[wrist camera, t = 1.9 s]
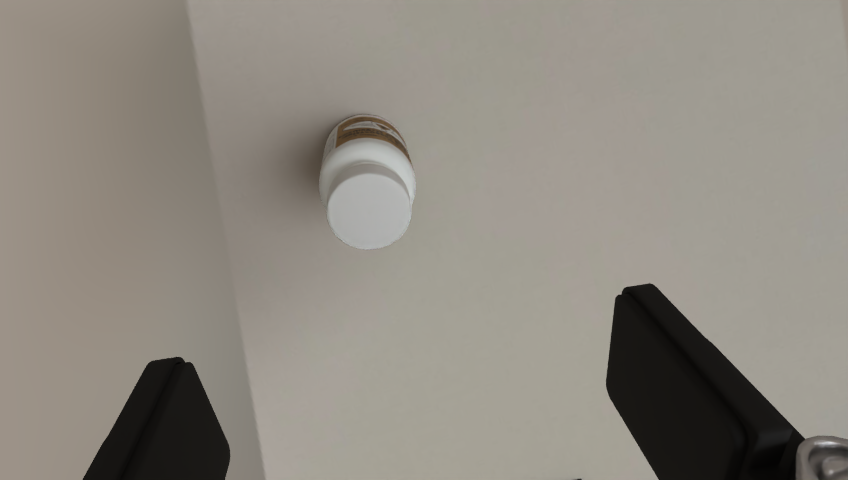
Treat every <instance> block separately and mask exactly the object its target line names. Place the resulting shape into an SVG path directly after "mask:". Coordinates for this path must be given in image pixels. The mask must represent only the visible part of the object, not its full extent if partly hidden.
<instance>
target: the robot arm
mask: <svg viewBox="0 0 848 480" xmlns="http://www.w3.org/2000/svg"><path fill="white" fill-rule="evenodd" d="M606 387H607V391H608V394H609V397H610V399H611V401H612V402H613V404H614V406H615V407H616V409H617V411H618V412H619V414H620V416H621V417H622V419H623V421H624V422H625V424H626V426H627V427H628V429H629V431H630V432H631V434H632V436H633V437H634V439H635V441H636V442H637V444H638V446H639V447H640V449H641V451H642V452H643V454H644V456H645V457H646V459H647V461H648V462H649V464H650V466H651V467H652V469H653V471H654V472H655V474H656V476H657V477H658V479H659V480H848V440H847V439H843V438H839V437H834V436H815V437H811V438H807V439H805V438H804V437H803V436H802V435H801V434H800V433H799V432H798V431H797V430H796V429H795V428H794V427H793V426H792V425H791V424H790V423H789V422H788V421H787V420H786V419H785V418H784V417H783V416H782V415H781V414H780V413H779V412H778V411H777V410H776V409H775V407H774V406H773V405H772V404H771V403H770V402H769V401H768V400H767V399H766V398H765V397H764V396H763V395H762V394H761V393H760V392H759V391H758V390H757V389H756V388H755V387H754V386H753V385H752V384H751V383H750V382H749V381H748V380H747V379H746V378H745V377H744V376H743V374H742V373H741V372H740V371H739V370H738V369H737V368H736V367H735V366H734V365H733V364H732V363H731V362H730V361H729V360H728V359H727V358H726V357H725V356H724V355H723V354H722V353H721V352H720V351H719V350H718V349H717V348H716V347H715V346H714V345H713V344H712V343H711V342H710V341H709V340H708V339H706V338H705V337H704V336H703V335H702V334H701V333H700V332H699V331H698V330H697V329H696V328H695V327H694V326H693V325H692V324H691V323H690V322H689V320H688V319H687V318H686V317H685V316H684V315H683V314H682V313H681V312H680V311H679V310H678V309H677V308H676V307H675V306H674V305H673V304H672V303H671V302H670V301H669V300H668V299H667V298H666V297H665V296H664V295H663V294H662V292H661V291H660V290H659V289H658V288H657V287H656V286H654V285H653V284H643V285H637V286H631V287H626V288H624V289H623V291H622V295H618V296H617V297H616V299H615V306H614V315H613V324H612V333H611V342H610V351H609V360H608V369H607V378H606ZM229 461H230V449H229V444H228V442H227V440H226V438H225V435H224V433H223V431H222V429H221V426H220V424H219V422H218V420H217V417H216V415H215V413H214V411H213V408H212V406H211V404H210V401H209V399H208V397H207V395H206V392H205V390H204V388H203V386H202V383H201V381H200V379H199V377H198V374H197V372H196V370H195V368H194V366H193V364H192V363H191V362H186V363H185V361H184V360H183V359H182V358H181V357H174V358H167V359H161V360H155V361H151V362H150V363H148V365H147V366H146V368H145V370H144V371H143V373H142V375H141V377H140V379H139V380H138V382H137V384H136V386H135V388H134V389H133V391H132V393H131V395H130V397H129V399H128V401H127V402H126V404H125V406H124V408H123V410H122V412H121V413H120V415H119V417H118V419H117V421H116V423H115V424H114V426H113V428H112V430H111V431H110V433H109V435H108V437H107V438H106V439H105V441H104V442H103V444H102V445H101V447H100V449H99V451H98V453H97V455H96V456H95V458H94V460H93V462H92V464H91V465H90V467H89V469H88V471H87V473H86V475H85V476H84V478H83V480H225V477H226V473H227V469H228V466H229Z"/></svg>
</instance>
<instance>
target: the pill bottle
mask: <svg viewBox="0 0 848 480" xmlns="http://www.w3.org/2000/svg"><path fill="white" fill-rule="evenodd" d="M415 192H416V180H415V174H414V169H413V167H412V163H411V160H410V157H409V154H408V150H407V147H406V143H405V141H404V139H403V137H402V135H401V133H400V132H399V130H398V129H397V128H396V127H395V126H394V125H393V124H392V123H390V122H389V121H387V120H385V119H383V118H381V117H378V116H374V115H366V114H363V115H356V116H353V117H350V118H347V119H345V120H344V121H342V122H340V123H339V124H338V125H337V126H336V127H335V128H334V129H333V131H332V132H331V133H330V135H329V137H328V139H327V142H326V146H325V150H324V155H323V160H322V166H321V171H320V177H319V193H320V198H321V201H322V203H323V206H324V208H325V209H326V213H327V219H328V223H329V225H330V227H331V229H332V231H333V233H334V234H335V235H336V236H337V237H338V238H339V239H340V240H341V241H343V242H344V243H346V244H348V245H349V246H352V247H355V248H358V249H363V250H374V249H379V248H383V247H386V246H388V245H390V244H392V243H394V242H395V241H397V240H398V239H399V238H400V237H401V236H402V235H403V234H404V232H405V231H406V229H407V228H408V225H409V223H410V220H411V213H412V209H411V205H412V203H413V201H414V197H415Z"/></svg>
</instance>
